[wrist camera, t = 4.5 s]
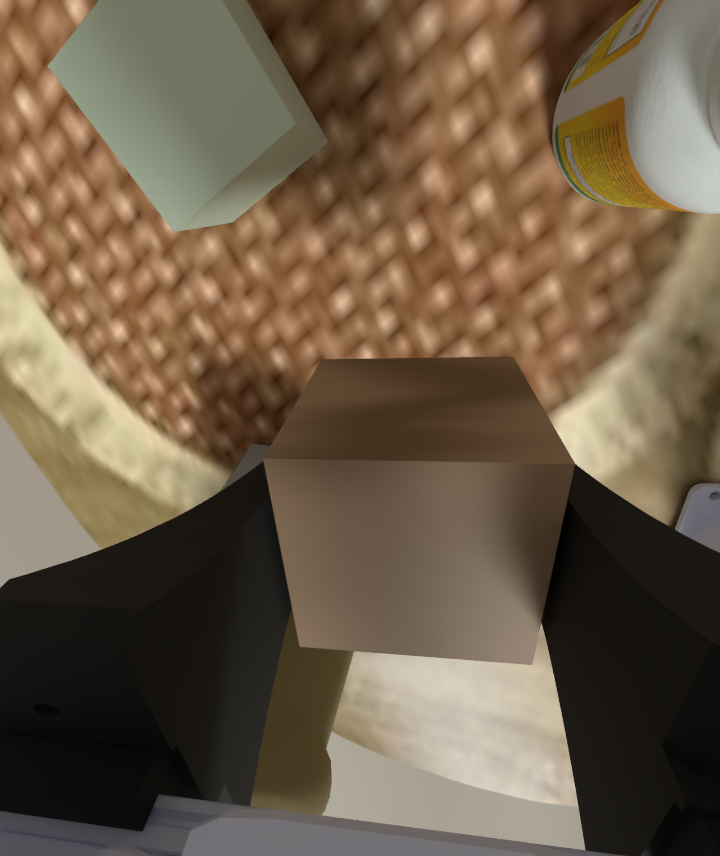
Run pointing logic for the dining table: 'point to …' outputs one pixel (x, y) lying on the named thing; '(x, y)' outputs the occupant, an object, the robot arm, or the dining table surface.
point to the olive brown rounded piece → (300, 727)
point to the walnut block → (419, 507)
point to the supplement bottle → (646, 110)
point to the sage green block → (189, 103)
